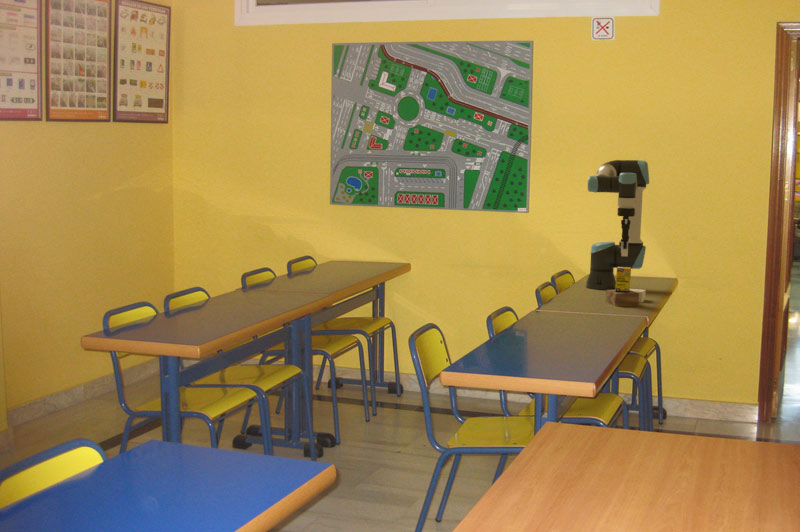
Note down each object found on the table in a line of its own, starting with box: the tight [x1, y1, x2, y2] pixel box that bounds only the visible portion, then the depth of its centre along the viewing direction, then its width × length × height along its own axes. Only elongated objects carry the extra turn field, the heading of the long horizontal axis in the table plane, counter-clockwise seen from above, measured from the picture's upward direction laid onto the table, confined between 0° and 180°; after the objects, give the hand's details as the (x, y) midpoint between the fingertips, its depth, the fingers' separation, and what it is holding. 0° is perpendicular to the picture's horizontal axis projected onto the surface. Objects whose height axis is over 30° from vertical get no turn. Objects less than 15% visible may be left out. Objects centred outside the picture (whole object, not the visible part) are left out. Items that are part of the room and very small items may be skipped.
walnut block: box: [605, 289, 640, 307], centre depth 392 cm, size 11×11×6 cm
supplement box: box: [614, 267, 632, 293], centre depth 391 cm, size 6×6×11 cm
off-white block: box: [630, 288, 647, 303], centre depth 403 cm, size 8×8×5 cm
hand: (624, 254), depth 390 cm, fingers open, 13 cm apart
